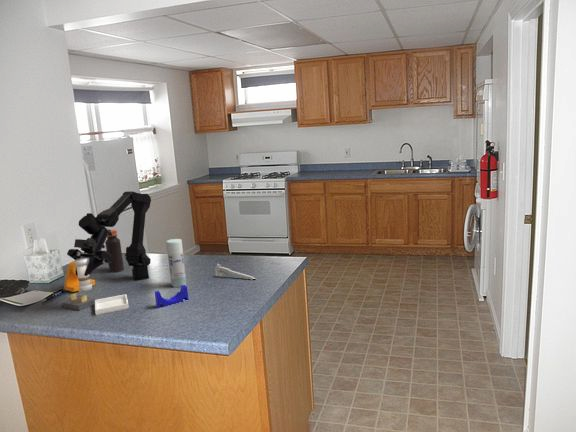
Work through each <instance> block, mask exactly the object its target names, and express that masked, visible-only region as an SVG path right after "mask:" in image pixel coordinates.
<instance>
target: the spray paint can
mask: <svg viewBox="0 0 576 432" xmlns="http://www.w3.org/2000/svg"><path fill="white" fill-rule="evenodd" d="M165 244H166V252H167V259H168V268H169V274H170V283H171V287H172V286H173V287H172V288H181V285H187V276H186V269H185V258H184V249H183V241H182V239H181V238H171V239H168V240H166V241H165Z"/></svg>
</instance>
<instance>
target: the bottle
mask: <svg viewBox="0 0 576 432" xmlns="http://www.w3.org/2000/svg"><path fill="white" fill-rule="evenodd" d="M110 230H111V233H112V236H107V238H106V240H105V242H104V245H105V249H106V250H105V251H107V252H108V253H109V254H110V255H112V257H113V260H112V262H111V263H107V264H108V269H109V273H119V272H122V271H124V269H125V265H124V260H123V259H124V258H123V252H122V245H121V240H120V239H119V238H118V237H117V236H118V232H117V229H110Z"/></svg>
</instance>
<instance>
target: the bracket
mask: <svg viewBox="0 0 576 432" xmlns="http://www.w3.org/2000/svg"><path fill="white" fill-rule="evenodd" d="M75 273H76V265H75V260H74V261H71V262H69V264H68V265H67V270H66V273H65V274H66V275H65V279H64V283H63V284H64V290H66V291H69V292H71V293H75V292H78V293H81V291H80V290H79V280H78V275H76V274H75ZM90 280H91V283H92V287H93V286H95V285H96V280H95V279H92V278H90Z"/></svg>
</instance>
